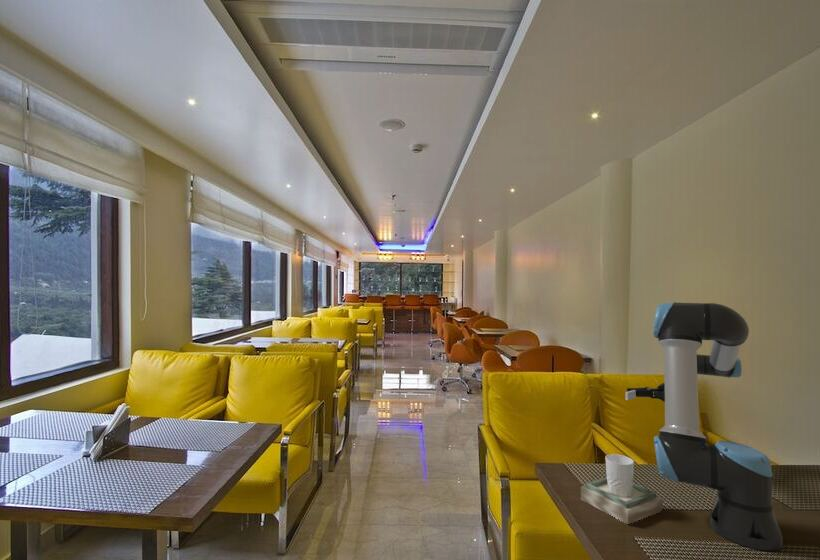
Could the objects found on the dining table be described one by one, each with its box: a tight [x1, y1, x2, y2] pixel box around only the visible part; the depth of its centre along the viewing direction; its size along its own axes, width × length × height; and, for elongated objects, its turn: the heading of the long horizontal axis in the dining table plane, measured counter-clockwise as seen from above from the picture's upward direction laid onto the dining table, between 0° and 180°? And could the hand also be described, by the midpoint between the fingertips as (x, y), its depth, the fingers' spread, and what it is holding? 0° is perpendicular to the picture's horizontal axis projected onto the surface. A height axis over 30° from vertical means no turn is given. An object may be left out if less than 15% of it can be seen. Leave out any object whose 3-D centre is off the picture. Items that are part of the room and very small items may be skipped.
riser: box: [580, 476, 663, 525], centre depth 124 cm, size 16×16×5 cm
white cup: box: [605, 453, 635, 497], centre depth 124 cm, size 8×8×10 cm
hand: (646, 400), depth 138 cm, fingers open, 13 cm apart
